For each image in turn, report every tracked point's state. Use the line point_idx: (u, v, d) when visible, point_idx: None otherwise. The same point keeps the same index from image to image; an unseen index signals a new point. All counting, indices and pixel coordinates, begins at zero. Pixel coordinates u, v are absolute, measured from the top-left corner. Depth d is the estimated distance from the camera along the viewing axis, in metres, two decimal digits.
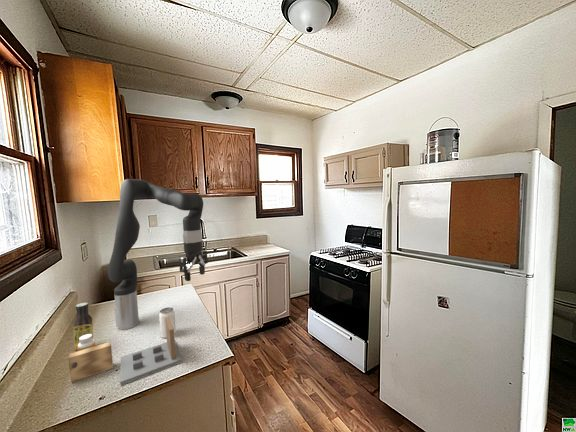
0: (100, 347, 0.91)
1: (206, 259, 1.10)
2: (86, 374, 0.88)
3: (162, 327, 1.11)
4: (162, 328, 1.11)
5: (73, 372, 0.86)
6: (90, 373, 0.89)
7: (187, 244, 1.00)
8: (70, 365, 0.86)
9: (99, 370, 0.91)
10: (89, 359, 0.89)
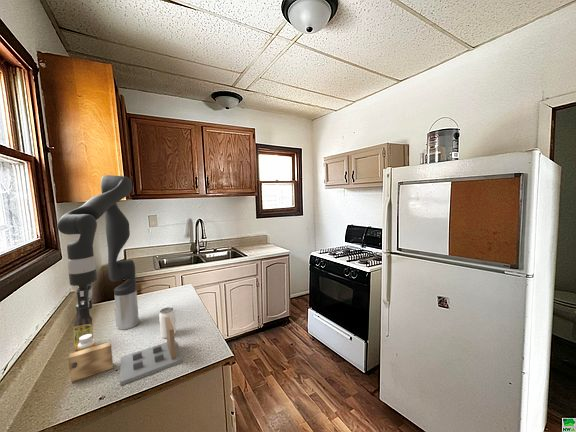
0: (100, 347, 0.91)
1: None
2: (86, 374, 0.88)
3: (162, 327, 1.11)
4: (162, 328, 1.11)
5: (73, 372, 0.86)
6: (90, 373, 0.89)
7: None
8: (70, 365, 0.86)
9: (99, 370, 0.91)
10: (89, 359, 0.89)
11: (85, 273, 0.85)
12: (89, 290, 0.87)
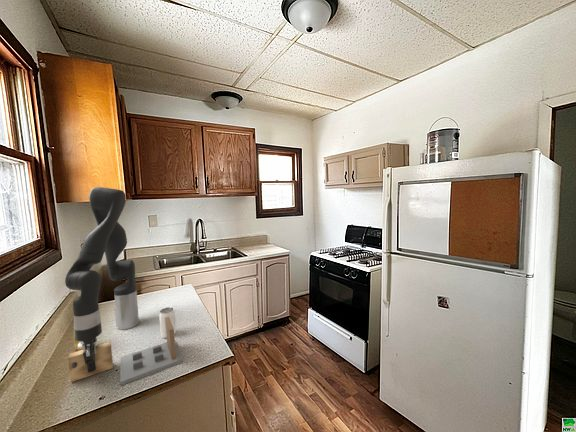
0: (100, 347, 0.91)
1: None
2: (86, 374, 0.88)
3: (162, 327, 1.11)
4: (162, 328, 1.11)
5: (73, 372, 0.86)
6: (90, 373, 0.89)
7: None
8: (70, 365, 0.86)
9: (99, 370, 0.90)
10: None
11: (90, 328, 0.87)
12: (94, 344, 0.89)
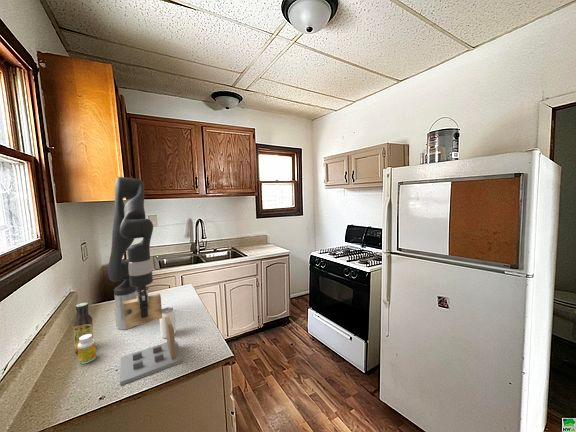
0: (151, 297, 0.94)
1: (140, 304, 0.89)
2: (139, 321, 0.92)
3: (162, 327, 1.11)
4: (162, 328, 1.11)
5: (127, 318, 0.90)
6: (142, 321, 0.92)
7: None
8: (125, 311, 0.89)
9: (150, 318, 0.94)
10: None
11: (144, 275, 0.90)
12: (147, 291, 0.92)
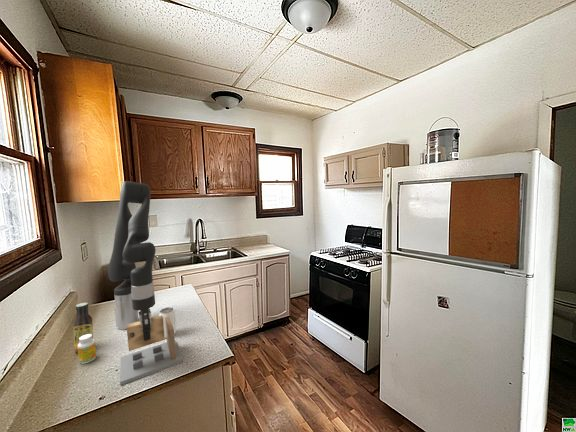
0: (154, 319, 0.95)
1: (143, 328, 0.90)
2: (142, 344, 0.93)
3: None
4: None
5: (130, 341, 0.90)
6: (145, 343, 0.93)
7: None
8: (128, 335, 0.90)
9: (153, 341, 0.95)
10: None
11: (147, 298, 0.91)
12: (149, 314, 0.93)
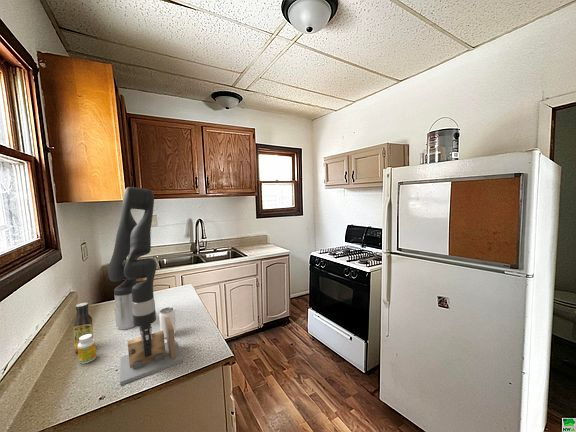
0: (154, 335, 0.96)
1: None
2: (143, 360, 0.93)
3: (162, 327, 1.11)
4: (162, 328, 1.11)
5: (131, 358, 0.91)
6: (146, 359, 0.94)
7: None
8: (129, 351, 0.90)
9: None
10: None
11: (148, 314, 0.91)
12: (150, 329, 0.93)
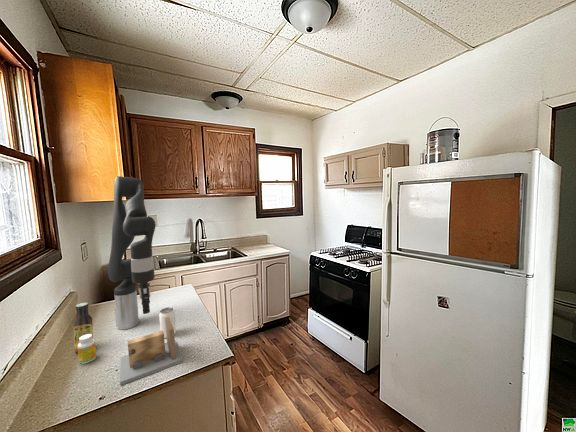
0: (154, 335, 0.96)
1: (142, 299, 0.89)
2: (143, 360, 0.93)
3: (162, 327, 1.11)
4: (162, 328, 1.11)
5: (131, 358, 0.91)
6: (146, 359, 0.94)
7: None
8: (129, 351, 0.90)
9: None
10: (146, 346, 0.93)
11: (146, 271, 0.92)
12: (149, 287, 0.94)
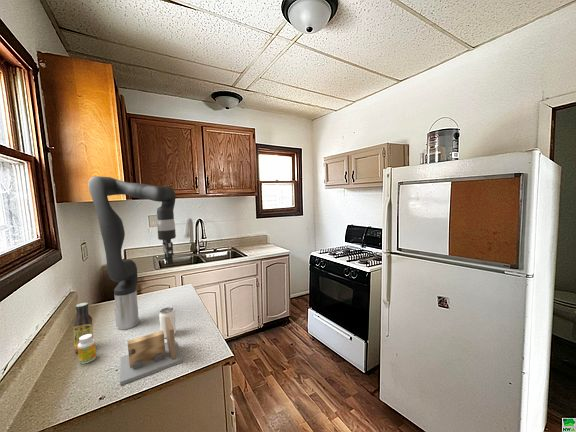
0: (154, 335, 0.96)
1: (167, 252, 1.10)
2: (143, 360, 0.93)
3: (162, 327, 1.11)
4: (162, 328, 1.11)
5: (131, 358, 0.91)
6: (146, 359, 0.94)
7: None
8: (129, 351, 0.90)
9: None
10: (146, 346, 0.93)
11: (170, 230, 1.13)
12: None
